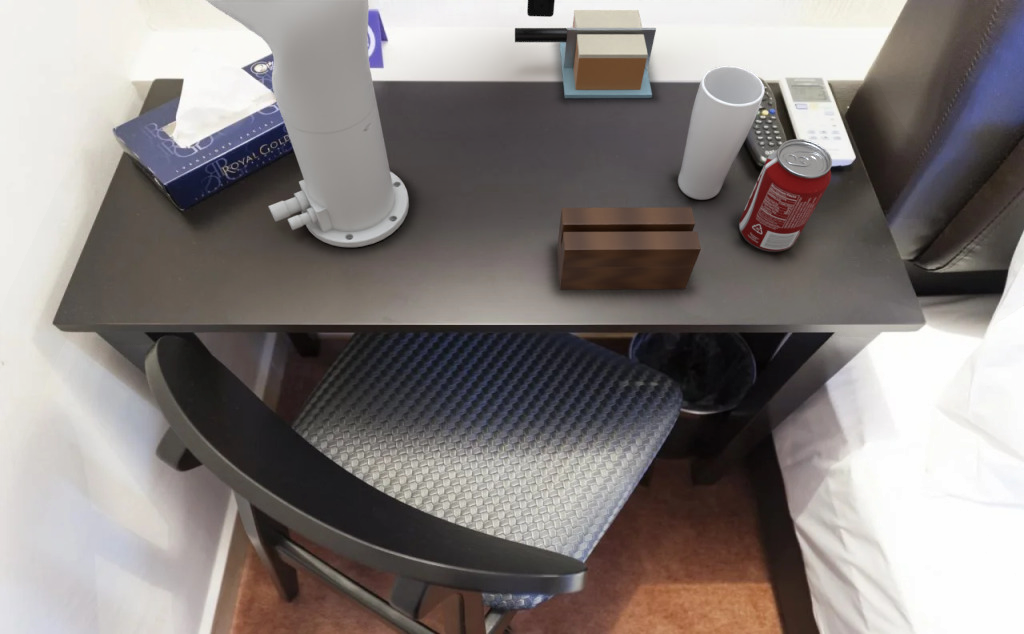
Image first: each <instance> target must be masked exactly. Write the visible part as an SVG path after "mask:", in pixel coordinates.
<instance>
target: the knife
mask: <svg viewBox="0 0 1024 634" xmlns="http://www.w3.org/2000/svg"><path fill="white" fill-rule="evenodd" d="M656 33H657V28H656V27H642V28H573V27H515V28H514V43H560V42H566V45H565V56H564V68H574V59H575V50H576V40H577V34H643V35H644V39H645V44H646V49H647V53H648V56H647V60H646V65H645V68H647V69H648V68H649V65H650V60H651V55H652V50H653V47H654V42H655V36H656Z"/></svg>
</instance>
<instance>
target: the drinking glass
mask: <svg viewBox="0 0 1024 634" xmlns="http://www.w3.org/2000/svg"><path fill="white" fill-rule="evenodd" d="M765 92H766V91H765V84H764V82H763V81H762V79H760V78H759V76H757V75H756V74H755V73H754V72H752V71H751V70H748V69H745V68H743V67H739V66H734V65H721V66H716V67H714V68H711V69H709V70H708V71H706V72H705V73H704V74H703V76H702V78H701V81H700V83H699V86H698V89H697V92H696V95H695V98H694V101H693V106H692V108H691V109H692V110H691V114H690V119H689V124H688V130H687V136H686V141H685V146H684V152H683V156H682V162H681V167H680V170H679V174H678V177H677V184H678V188H679V190H680V191H681V192H682V193H683V194H684V195H685V196H687V197H689V198H691V199H694V200H698V201H705V200H710V199H712V198H714V197H717V196H718V194H719V193H720V191H721V190H722V187H723V185H724V182H725V180H726V179H727V176H728V174H729V172H730V170H731V168H732V166H733V164H734V162H735V161H736V158H737V156H738V154H739V152H740V151H741V148H742V147H743V145H744V143H745V141H746V139H747V138H748V135H749V133H750V131H751V129H752V128H753V125H754V123H755V121H756V119H757V116H758V113H759V111H760V108H761V105H762V102H763V99H764V96H765Z"/></svg>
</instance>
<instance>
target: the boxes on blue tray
mask: <svg viewBox="0 0 1024 634" xmlns="http://www.w3.org/2000/svg"><path fill="white" fill-rule="evenodd" d="M572 28H643V25H642V20H641V15H640V11H639V10H638V9H574V10H573V20H572ZM565 45H566V42H559V48H560V49H559V51H560V52H559V53H560V61H561V73H562V82H563V83H562V84H563V94H564V95H563V96H564V99H652V97H653V92H652V87H651V83H650V77H649V73H648V68H645V65H646V60H647V56H648V53H647V49H646V44H645V39H644V35H643V34H577V40H576V50H575V59H574V68H564V56H565Z"/></svg>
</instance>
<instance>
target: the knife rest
mask: <svg viewBox="0 0 1024 634" xmlns="http://www.w3.org/2000/svg"><path fill="white" fill-rule="evenodd" d="M559 219H560V220H559V228H558V237H557V246H556V251H557V253H556V255H557V267H558V283H559V290H564V291H565V290H686V288H687V286H688V283H689V280H690V278H691V276H692V273H693V270H694V268H695V265H696V263H697V260H698V258H699V255H700V252H701V251H702V247H701V243H700V239H699V234H698V231H695V230H694V229H695V225H696V220H695V216H694V212H693V208H692V207H691V206H689V207H688V206H687V207H686V206H682V207H681V206H679V207H678V206H677V207H675V206H674V207H671V206H669V207H661V206H660V207H656V206H655V207H653V206H651V207H646V206H645V207H643V206H642V207H641V206H640V207H561V210H560V218H559Z"/></svg>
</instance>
